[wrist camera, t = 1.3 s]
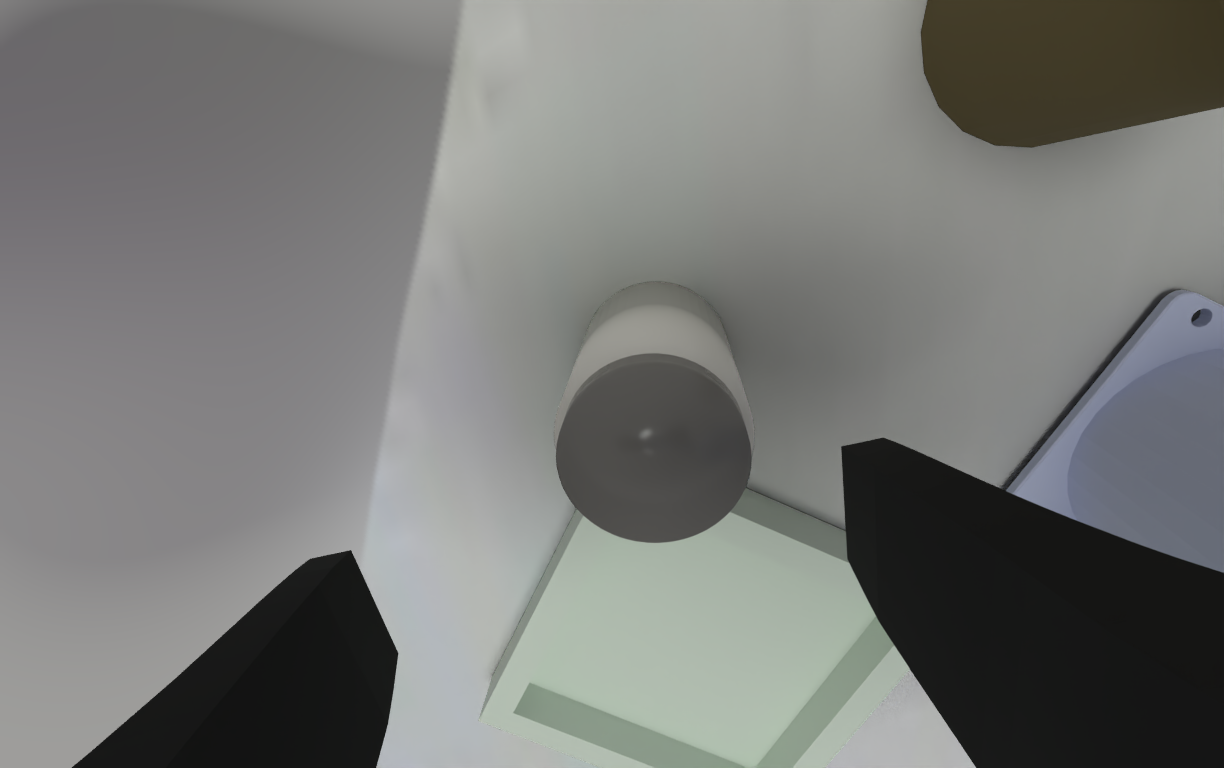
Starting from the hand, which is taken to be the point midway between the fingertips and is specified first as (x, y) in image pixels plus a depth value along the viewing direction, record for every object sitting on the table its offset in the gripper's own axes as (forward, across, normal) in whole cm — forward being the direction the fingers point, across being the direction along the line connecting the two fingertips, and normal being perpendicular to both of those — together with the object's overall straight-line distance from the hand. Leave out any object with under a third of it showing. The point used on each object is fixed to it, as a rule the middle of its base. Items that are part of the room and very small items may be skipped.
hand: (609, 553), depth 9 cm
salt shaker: (+11, -2, +1) cm, 11 cm away
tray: (+10, -2, +12) cm, 16 cm away
